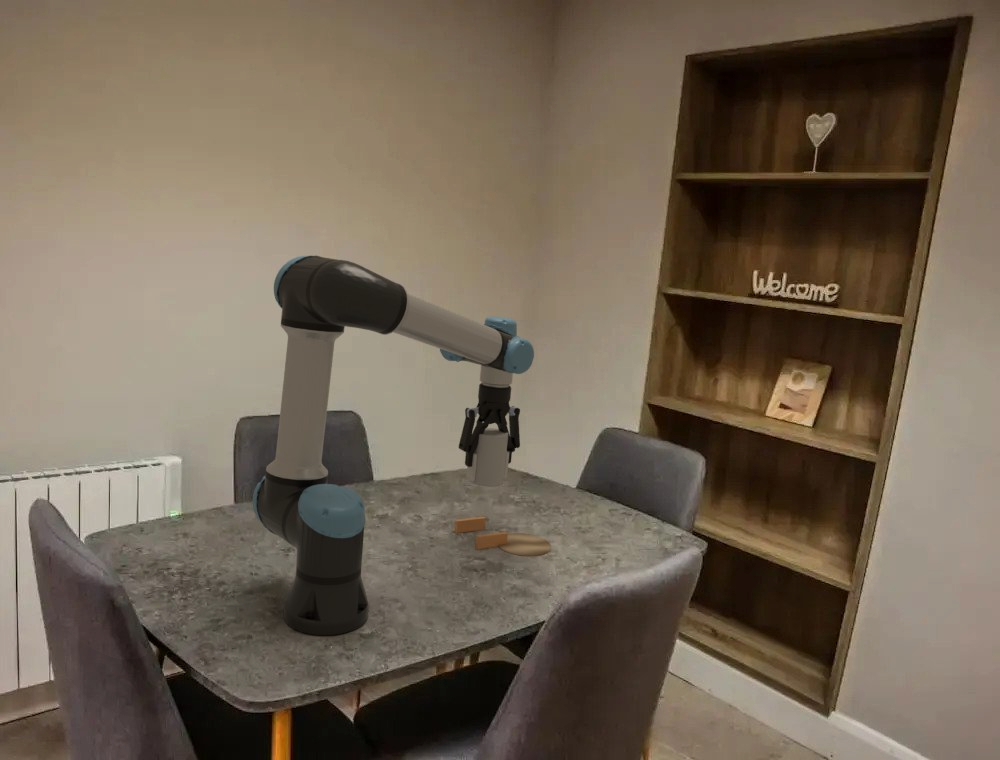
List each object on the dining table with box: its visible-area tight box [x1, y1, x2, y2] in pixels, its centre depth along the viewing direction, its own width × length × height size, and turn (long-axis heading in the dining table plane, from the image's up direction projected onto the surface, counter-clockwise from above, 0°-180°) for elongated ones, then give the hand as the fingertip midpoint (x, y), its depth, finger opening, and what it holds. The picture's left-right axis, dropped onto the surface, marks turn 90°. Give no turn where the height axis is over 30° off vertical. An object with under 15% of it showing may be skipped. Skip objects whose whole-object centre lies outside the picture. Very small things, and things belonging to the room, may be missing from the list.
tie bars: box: [454, 516, 509, 550], centre depth 187 cm, size 12×8×3 cm
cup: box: [468, 427, 508, 488], centre depth 184 cm, size 8×8×12 cm
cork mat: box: [498, 532, 552, 557], centre depth 186 cm, size 13×13×1 cm
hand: (486, 477), depth 185 cm, fingers closed on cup, 8 cm apart
